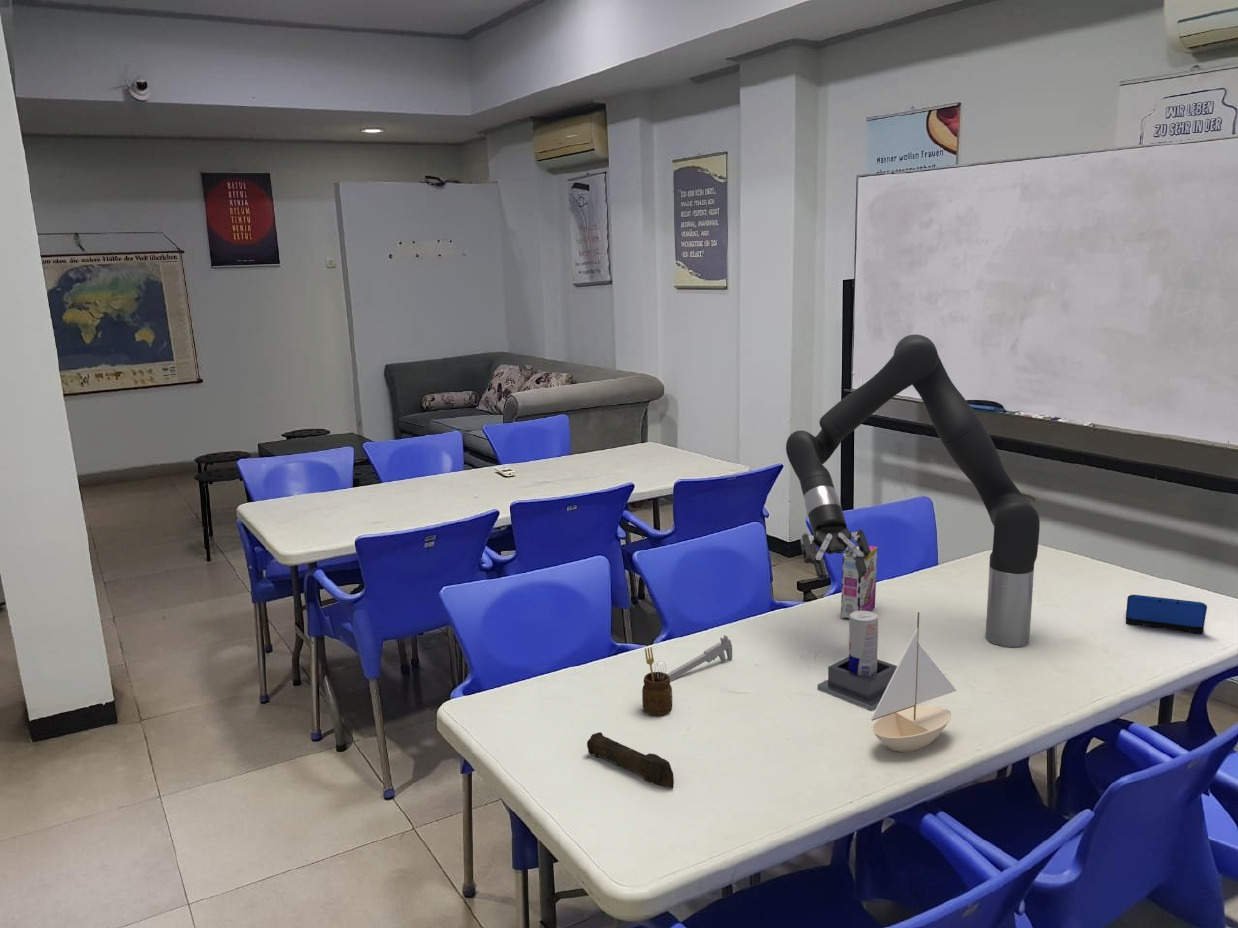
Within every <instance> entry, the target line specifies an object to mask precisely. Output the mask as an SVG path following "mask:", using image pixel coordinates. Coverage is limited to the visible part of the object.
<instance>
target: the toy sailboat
mask: <svg viewBox="0 0 1238 928" xmlns="http://www.w3.org/2000/svg"><path fill="white" fill-rule="evenodd" d="M916 619H917V621H916V623H917V625H916V626H917V627H916V629H915V631H914V632H913V635H912V636H911V638H910V640H909V642H908V645H907V646H906V648H905V651H904V653H903V654H902V656H901V658H900V659H899V662H898V665H896V666H897V668H896V670H895V672H894V674H893V676H892V678H891V680H890V682H889V684H888V686H887V688H886V690H885V692H884V694H883V696H882V698H881V700H880V702H879V704H878V706H877V708H876V709H874V712H873V713H872V716H871V718H870V720H871V721H872V722H873V721H874V722H873V724H872V725H871V732H872V733H873V734H874V736H875V737H876V738H877V739H878V740H879V741H880V742H881V743H882V744H883V745H885V746H886V747H887V748H889V749H890V750H892V751H894V752H898V753H908V752H914V751H919V750H921V749H924V748H925V747H927V746H929V745H930V744H931V743H932V742H934V741H935V739H936V738H937V737H938V736H939V735H941V733H942V732H943V731H944V729H945V728H946V727H947V726H948V724H949V722H950V721H951V719H952V716H953V714H952V712H951V711H950V710H949V709H948V708H945V707H942V706H937V705H918V704H922V703H926V702H928V701H930V700H934V699H936V698H940V697H943V696H945V695H949V694H952V693H954V692H957V689H956V688H955V687H954V685H953V684H952V683H951V681H949V679H948V678H947V677H946V675H945V674H944V673H943V672H942V670H941V669H940V668H939V666H937V664H936V663H935V662H934V660H933V659H932V658H931V657H930V656H929V655H928V653H927V652H926V651H925V649H924V648H923V647H922V646H921V645H920V644H919V637H920V636H919V635H920V631H919V629H920V612H919V611H918V612H917V618H916ZM917 705H918V706H917ZM923 747H924V748H923Z"/></svg>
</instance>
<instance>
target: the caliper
mask: <svg viewBox="0 0 1238 928" xmlns="http://www.w3.org/2000/svg"><path fill="white" fill-rule="evenodd" d="M719 639H720V642H717V643H715V644H714V645H712V646H710V647H709V648H707V649H705V650H704V651H703V653H701V654H699V655H698V656H696V657H694V658H692V659H690V660H689V661H687V662H686V663H683V664H681V665H680V666H678V667H677V668H675V669H673V670H671V671H669V672H666V674H668V675H669V677H670V682H672V681H674V680H675V679H677V678H679V677H681V676H683V675H684V674H686V673H687V672H690V671H691V670H693V669H695V668H696V667H699V666H700V665H702V664H703V663H705V662H707V663H708V664H710V663H711V662H712V661H715V660H716V659H717V658H719V659H720V661H721V662H723V663H727V661H726V660H729V661H732V660H733V644H732V641H731V639H730V638H729V637H728V636H727V635H725V634H724V635H723V638H722V637H719ZM725 652H726V653H725ZM726 657H727V658H726Z"/></svg>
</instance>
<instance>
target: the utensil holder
mask: <svg viewBox="0 0 1238 928" xmlns="http://www.w3.org/2000/svg"><path fill="white" fill-rule="evenodd" d="M644 653H645V660H646V664H647V665H649V670H650V672H649V673H647V674H645V675H644V678H643V686H642V689H641V690H642V691H641V693H642V695H641V696H642V697H641V698H642V700H641V701H642V710H643V712H644V713H645V714H647V715H649V716H652V717H663V716H666V715H668V714H670V713H671V711H672V709H673V690H672V689H673V687H672V685H671V681H670V677H669V675H668V674H667V672H665V671H667V665H666V663H665V662H663V661H658V662H656V663H655V664H654V662H655V659H654V652H653V647H652V646H650V647H647V648H644ZM659 663H660V665H663V666H664V667H662V669H661V670H660V671H657V670H656V669H657V668H658V666H659ZM653 664H654V666H656V667H654V669H653ZM664 668H665V669H664ZM659 669H660V666H659ZM653 670H654V671H653ZM664 670H665V671H664Z"/></svg>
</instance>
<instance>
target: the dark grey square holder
mask: <svg viewBox="0 0 1238 928" xmlns="http://www.w3.org/2000/svg"><path fill="white" fill-rule="evenodd" d="M897 666H898V665H896V664H892V663H889V662H888V661H887V662H886V661H885V660H880V659H878V658H877V674H876V675H874V676H872V677H870V678H866V677H864V676H861V675H858V674H856V673H853V672H850V671H849V656H847V657H845V658H843V659H842V660H839V661H837V662H834V663H832V664H831V665H829V666H828V669H827V677H828V678H827V679H826V680H824V681H821V683H818V684H817V690H818V691H822V693H823V692H824V693H826V694H828V695H831V696H834V697H836V698H837V699H838V698H839V699H841V700H844V701H846V702H849V703H851V704H853V705H857V706H859V707H861V708H864V709H866V710H869V711H871V712H872V711H873V710H874V711H875V710H876V708H877V706H878V704H879V702H880V700H881V698H882V696H883V694H884V692H885V690H886V688H887V686H888V684H889V682H890V680H891V678H892V676H893V674H894V672H895V670H896V668H897Z"/></svg>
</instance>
